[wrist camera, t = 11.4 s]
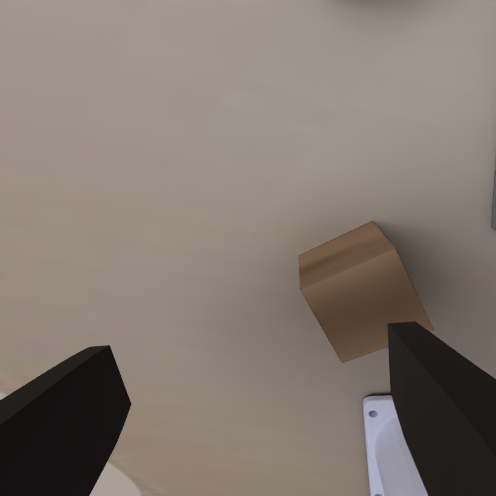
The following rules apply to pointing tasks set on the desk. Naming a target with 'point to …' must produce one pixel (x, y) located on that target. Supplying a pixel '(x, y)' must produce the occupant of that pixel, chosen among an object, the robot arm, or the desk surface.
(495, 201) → the mat
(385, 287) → the walnut cube
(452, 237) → the desk surface
